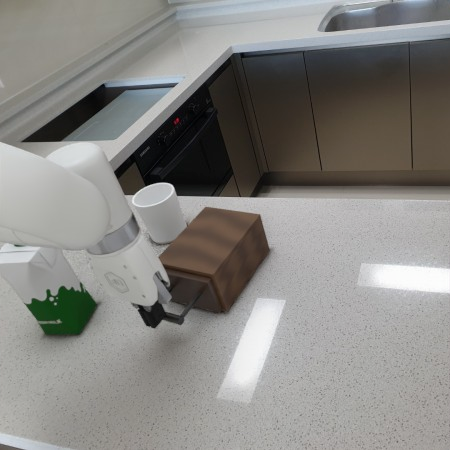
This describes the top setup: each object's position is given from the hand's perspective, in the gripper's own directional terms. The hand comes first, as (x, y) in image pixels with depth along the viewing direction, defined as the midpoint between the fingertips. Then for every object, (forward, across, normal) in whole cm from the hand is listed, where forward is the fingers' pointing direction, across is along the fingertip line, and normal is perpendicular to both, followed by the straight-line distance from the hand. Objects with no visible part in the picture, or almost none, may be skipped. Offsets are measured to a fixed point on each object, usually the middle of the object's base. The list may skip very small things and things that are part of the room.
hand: (156, 320), depth 73 cm
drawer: (+5, 0, +12) cm, 13 cm away
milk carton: (+6, -22, -1) cm, 23 cm away
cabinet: (+6, 0, +17) cm, 18 cm away
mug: (+6, -20, +26) cm, 33 cm away
